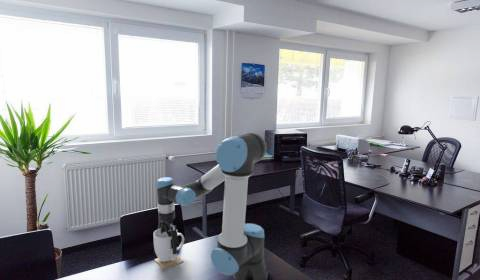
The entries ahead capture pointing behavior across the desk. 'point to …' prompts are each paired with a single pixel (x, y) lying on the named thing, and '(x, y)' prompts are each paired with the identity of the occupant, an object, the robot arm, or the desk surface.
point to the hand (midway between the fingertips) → (168, 254)
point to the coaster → (168, 263)
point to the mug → (164, 245)
